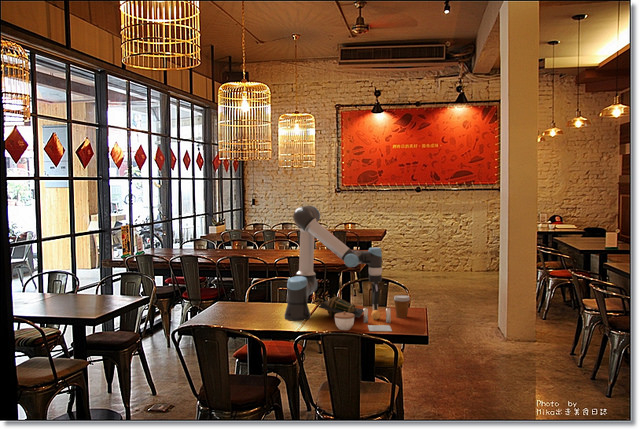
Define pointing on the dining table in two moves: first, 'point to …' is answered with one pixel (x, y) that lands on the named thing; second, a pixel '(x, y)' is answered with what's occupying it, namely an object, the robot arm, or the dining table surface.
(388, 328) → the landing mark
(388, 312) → the post right
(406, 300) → the disposable coffee cup
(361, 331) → the dining table surface
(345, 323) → the lidded jar
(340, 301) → the lantern
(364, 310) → the post left
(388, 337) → the dining table surface
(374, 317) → the ball
